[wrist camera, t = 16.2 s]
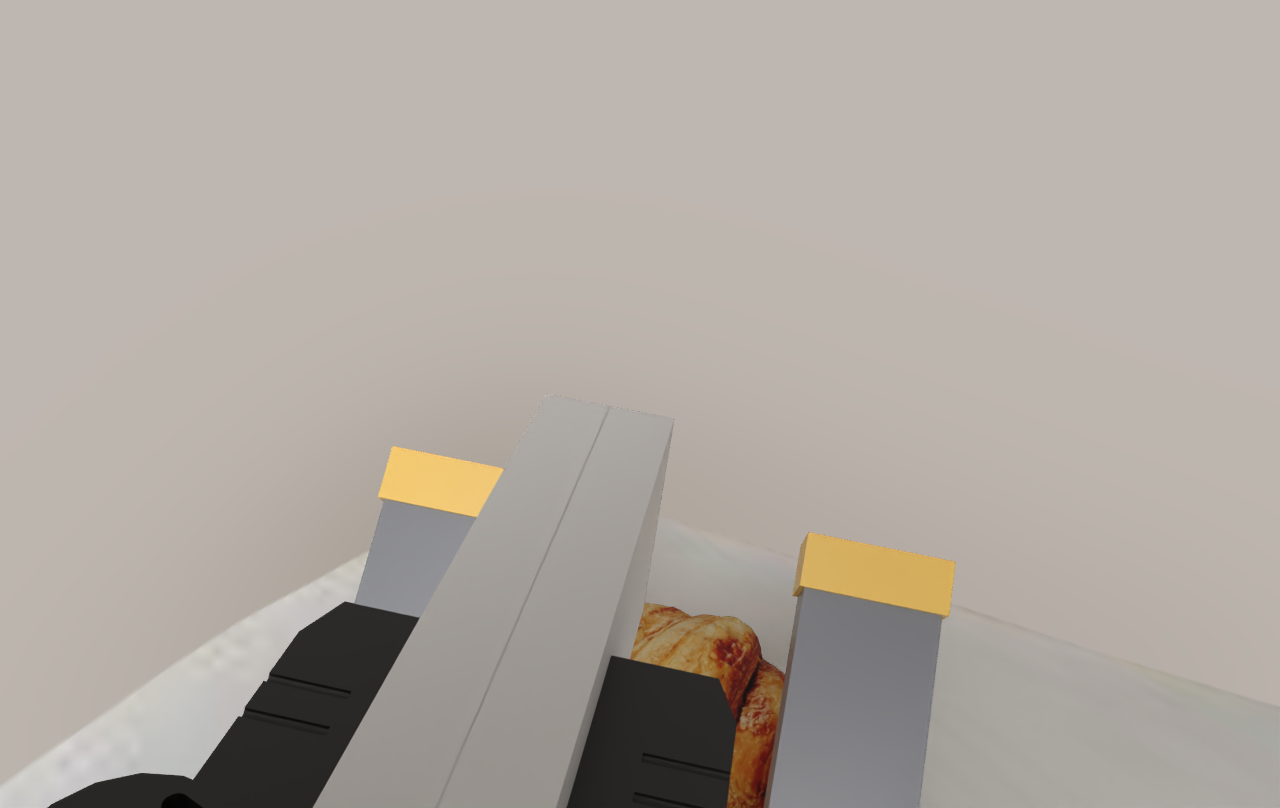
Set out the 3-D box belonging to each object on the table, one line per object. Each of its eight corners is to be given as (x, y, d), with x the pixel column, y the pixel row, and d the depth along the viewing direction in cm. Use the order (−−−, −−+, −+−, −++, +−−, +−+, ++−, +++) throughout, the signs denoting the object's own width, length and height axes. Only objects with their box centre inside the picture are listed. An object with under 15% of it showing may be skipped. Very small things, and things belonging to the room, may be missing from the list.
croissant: (471, 702, 56) (418, 626, 50) (590, 560, 60) (555, 476, 55) (822, 954, 45) (808, 896, 39) (936, 759, 49) (939, 680, 44)
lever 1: (436, 914, 36) (543, 476, 40) (254, 871, 36) (379, 443, 41) (450, 904, 38) (550, 490, 42) (279, 863, 39) (395, 459, 43)
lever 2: (916, 1031, 34) (969, 564, 39) (718, 983, 35) (795, 529, 40) (900, 1015, 36) (952, 576, 41) (715, 970, 37) (788, 542, 42)
